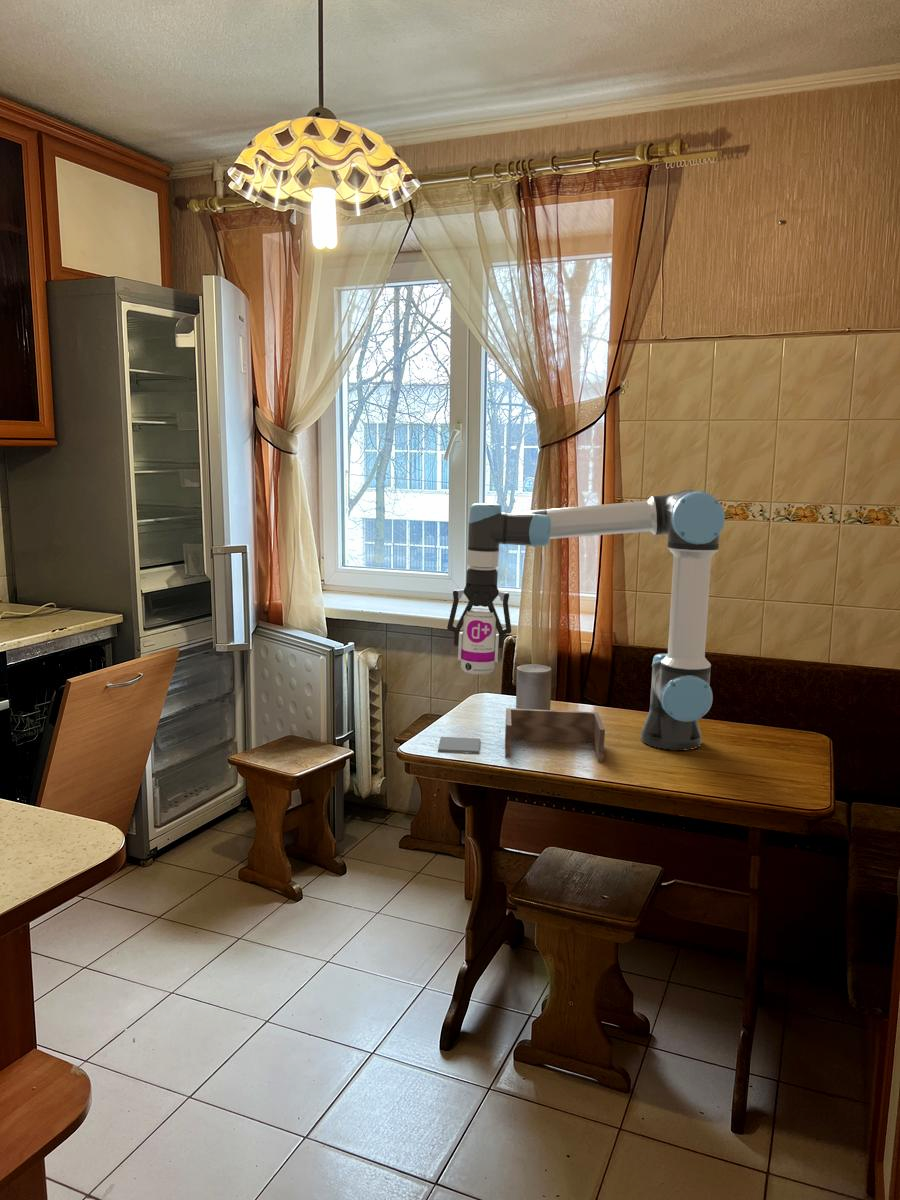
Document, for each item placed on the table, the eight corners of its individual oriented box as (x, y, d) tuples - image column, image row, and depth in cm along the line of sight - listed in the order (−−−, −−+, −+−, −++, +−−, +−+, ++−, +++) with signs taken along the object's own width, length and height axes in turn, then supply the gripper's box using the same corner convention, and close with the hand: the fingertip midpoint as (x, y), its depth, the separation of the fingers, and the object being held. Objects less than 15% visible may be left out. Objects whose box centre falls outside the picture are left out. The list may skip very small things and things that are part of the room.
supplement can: (492, 676, 215) (495, 614, 213) (458, 673, 216) (461, 612, 214) (495, 668, 223) (499, 609, 221) (463, 666, 224) (465, 606, 222)
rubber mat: (480, 740, 227) (480, 738, 227) (479, 753, 218) (479, 751, 217) (440, 738, 228) (440, 736, 228) (438, 751, 218) (438, 749, 218)
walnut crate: (596, 742, 229) (598, 712, 228) (603, 762, 214) (605, 729, 213) (504, 738, 230) (506, 708, 229) (505, 757, 215) (506, 725, 214)
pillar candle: (546, 710, 257) (548, 659, 255) (552, 720, 247) (554, 667, 245) (513, 710, 256) (514, 659, 254) (517, 720, 247) (519, 667, 244)
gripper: (525, 568, 219) (520, 659, 222) (440, 563, 220) (436, 654, 223) (526, 572, 211) (521, 665, 215) (437, 567, 212) (433, 660, 216)
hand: (477, 659), depth 219 cm, fingers closed on supplement can, 8 cm apart
